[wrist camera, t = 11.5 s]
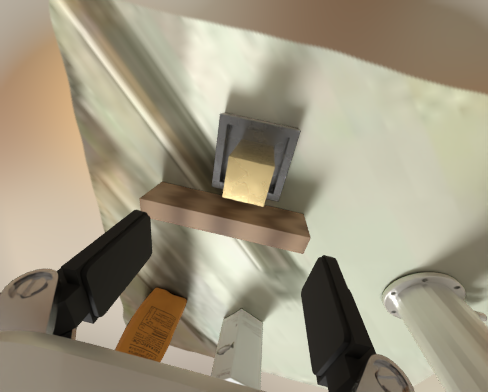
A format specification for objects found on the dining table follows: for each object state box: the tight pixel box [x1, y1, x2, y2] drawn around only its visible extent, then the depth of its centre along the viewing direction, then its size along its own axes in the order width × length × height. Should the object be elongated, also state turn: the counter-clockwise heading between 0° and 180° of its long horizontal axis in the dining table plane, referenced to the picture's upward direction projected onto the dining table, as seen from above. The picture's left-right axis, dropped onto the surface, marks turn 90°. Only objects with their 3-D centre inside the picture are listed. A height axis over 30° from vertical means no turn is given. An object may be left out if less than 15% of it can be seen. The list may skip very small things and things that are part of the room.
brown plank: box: [140, 182, 310, 254], centre depth 29 cm, size 24×3×6 cm, turn 80°
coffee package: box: [115, 288, 187, 362], centre depth 37 cm, size 10×12×22 cm
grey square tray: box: [212, 113, 301, 201], centre depth 26 cm, size 10×10×2 cm
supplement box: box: [211, 309, 263, 390], centre depth 41 cm, size 7×7×13 cm
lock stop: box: [222, 139, 275, 207], centre depth 23 cm, size 4×4×9 cm
